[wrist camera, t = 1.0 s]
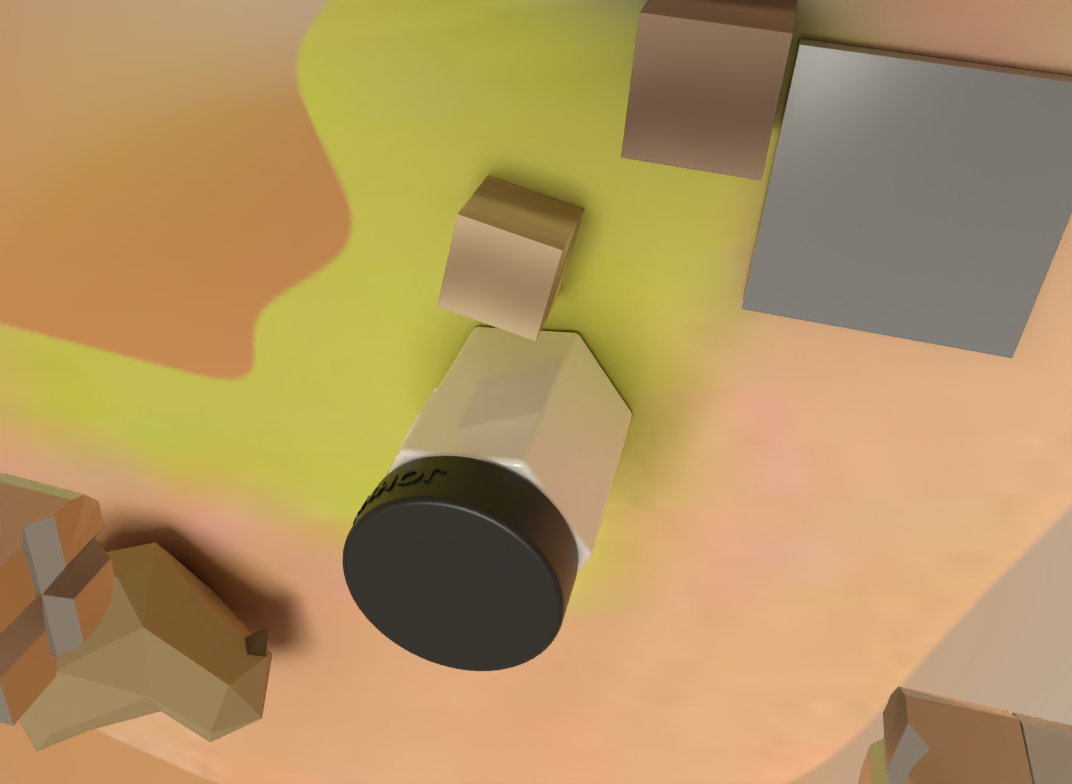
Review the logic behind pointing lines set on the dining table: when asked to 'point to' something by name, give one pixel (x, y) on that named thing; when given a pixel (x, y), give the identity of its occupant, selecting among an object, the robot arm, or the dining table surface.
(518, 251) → the oak block
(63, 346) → the dining table surface
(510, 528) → the jar
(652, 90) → the walnut block
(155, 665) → the low-poly potato
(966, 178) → the coaster
